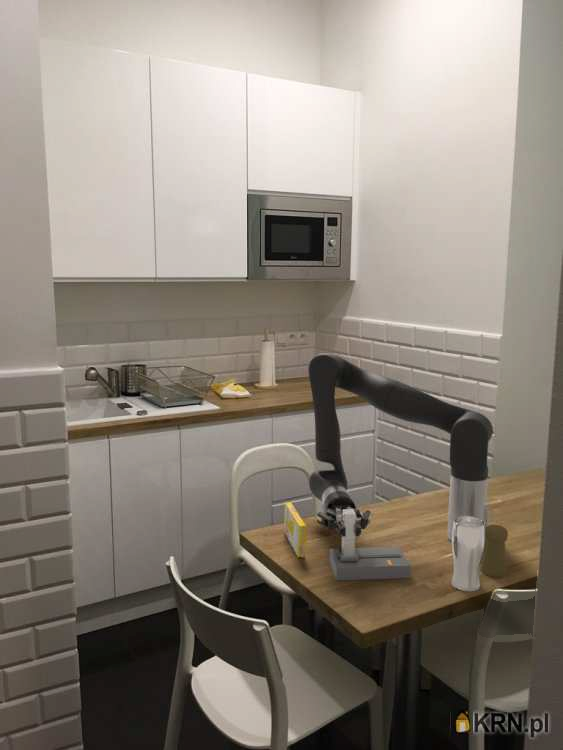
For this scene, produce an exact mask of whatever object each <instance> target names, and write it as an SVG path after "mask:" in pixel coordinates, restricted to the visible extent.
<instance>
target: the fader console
mask: <svg viewBox="0 0 563 750" xmlns="http://www.w3.org/2000/svg"><path fill="white" fill-rule="evenodd" d="M338 548H339V547H337V548H329V560H328V561H329V563H330V566H331V568H332V572H333V575H334V578H335V581H357V580H358V581H359V580H360V581H361V580H386V579H387V580H388V579H410V578H411V566H412V565H411V564H410V562H409V561H408V559H407V558H406V556H405V554H404V552H403V551H402V550H401V548H400V546H381V547H379V546H378V547H375V546H374V547H355V550H356V552H357V555H358V557H359V558H358V561H342V562H341V560H340V557H339V554H338Z"/></svg>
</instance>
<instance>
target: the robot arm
mask: <svg viewBox="0 0 563 750" xmlns="http://www.w3.org/2000/svg"><path fill="white" fill-rule="evenodd" d="M308 379H309V385H310V390H311V395H312V404H313V413H314V428H315V429H314V430H315V431H314V433H315V434H314V435H315V436H314V440H315V442H314V443H315V446H314V447H315V453H314V454H315V459H316V460H317V461H318V462H321V463H325V464H326V463H327V464H330V465H332V467H333V469H329V470H328V469H327V470H325V469H324V470H323V469H322V470H314V472H312V473H311V474H310V475H309V479H308V487H309V490H310V492H311V493H312V495H313V496H314V497H315V498H316V499H318V500H319V501H320V502H321V503H322V508H323V510H324V512H322V511H317V512H316V522H317V524H319V525H321V526H322V527H324V528H326V529H327V530H330V531H334V529H336V531H337V533H338V535H341V538H342V537H345V536H346V527H345V525H344V523H343V522H342V510H343V509H353V510H354V512H355V514H356V520H355V537H359V536H360V535H361V534H362V530H365V529H366V528H367V527H368V525H369V524H370V522H371V515H372V514H371V510H367V509H366V510H365V511H363V512H361V511H360V509H358V508H357V506H356V504H355V502H354V500H353V498H352V496H351V494H350V493H349V491H348V490H347V489H348V480H347V479H348V478H347V476H346V472H345V470H344V466H343V461H342V454H341V451H342V450H341V443H342V441H341V427H340V424H339V420H338V419H339V418H338V414H337V409H336V401H335V399H336V398H335V396H336V389H341V390H344V391H346V392H349V393H352V394H354V395H356V396H358V397H360V398H361V399H363V400H364V401H366V402H367V403H368V404H370V405H371V406H373V407H374V408H376V409H377V410H378V411H381V412H383V413H385V414H387V415H389V416H391V417H394V418H397V419H399V420H402V421H405V422H408V423H414V424H419V425H420V424H421V425H425V426H431V427H434V428H437V429H438V430H442V431H444V432H446V433H448V434H449V435H450V436H449V437H450V439H449V441H450V442H449V465H450V479H449V481H450V482H449V494H448V495H449V497H448V498H449V499H448V514H447V528H446V529H447V535H446V537H447V539H448V540H449V541H450V542H452V531H453V525H454V519H455V518H456V517H459V516H472V517H476V518H479V519H481V520H483V521H484V522H485V528H486V527H487V526H489V515H490V514H489V513H490V507H489V506H488V505H487V498H488V495H487V494H488V482H489V481H488V479H489V466H488V453H489V452H488V451H489V443H490V440H491V439H492V437H493V434H494V428H493V425H492V421H490V419H489V418H488V417H487V416H486V415H484V414H482V413H480V412H478V411H474V410H470V409H467V408H464V407H460V406H457V405H454V404H451V403H448V402H445V401H443V400H441V399H439V398H437V397H435V396H433V395H430V394H429V393H426V392H424V391H421V390H420V389H417V388H415V387H413V386H411V385H408V384H407V383H403V382H401V381H399V380H396V379H393V378H390V377H388V376H385V375H381V374H378V373H374V372H371V371H368V370H366V369H364V368H361V367H359V366H358V365H355V364H354V363H351V362H350V361H348V360H346V359H344V358H343V357H341V356H339V355H337V354H335V353H334V354H333V353H319V354H317V355H314V356H313V357H312V359H311V360H310V362H309V364H308ZM485 544H486V538H485Z"/></svg>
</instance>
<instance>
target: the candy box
mask: <svg viewBox="0 0 563 750" xmlns="http://www.w3.org/2000/svg"><path fill="white" fill-rule="evenodd" d="M301 517H302V516H300V514H299V512H298V511H297V509H296V508H295V506H294V505H293V503H292V502H285V505H284V520H283V521H284V525H283V526H284V527H283V532H284V534H285V537H286V538H287V539H288V542H289V544H290V546H291V547H292V550H293V551H294V553H295V555H296V557H297V558H298V557H301V558H305V556H306V543H307V542H306V541H307V539H306V538H307V525H306V524H305V522H304V520H303V518H301Z"/></svg>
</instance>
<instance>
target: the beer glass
mask: <svg viewBox="0 0 563 750" xmlns="http://www.w3.org/2000/svg"><path fill="white" fill-rule="evenodd" d="M485 544H486V543H485V522H484V521H483V520H481V519H479V518H476V517H472V516H459V517H456V518H455V519H454V525H453V531H452V541H451V550H452V557H453V574H452V578H451V585H452V587H453V588H455V589H456V588H457V590H458V591H462V592H468V593H469V592H475V591H478V590H479V589H480V587H481V586H480V583H481V582H480V578H479V577H480V576H479V574H480V573H479V572H480V567H481V562H482V558H483V553H484V548H485Z"/></svg>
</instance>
